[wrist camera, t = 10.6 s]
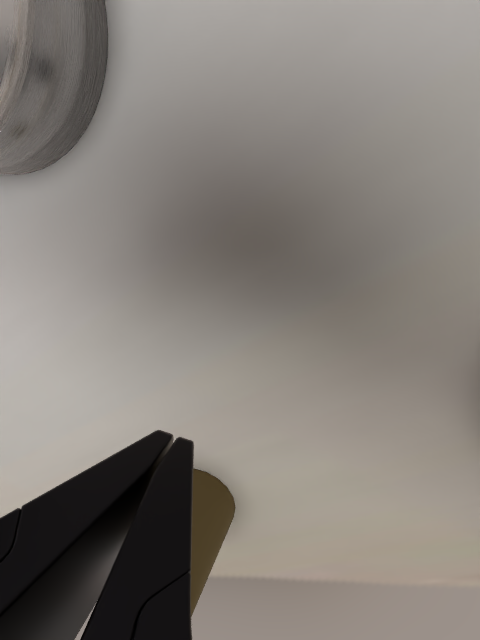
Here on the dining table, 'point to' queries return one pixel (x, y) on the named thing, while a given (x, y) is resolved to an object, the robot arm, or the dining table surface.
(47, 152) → the pot
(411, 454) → the dining table surface
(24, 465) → the dining table surface
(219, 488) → the cork
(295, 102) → the dining table surface
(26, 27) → the lid
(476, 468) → the dining table surface
